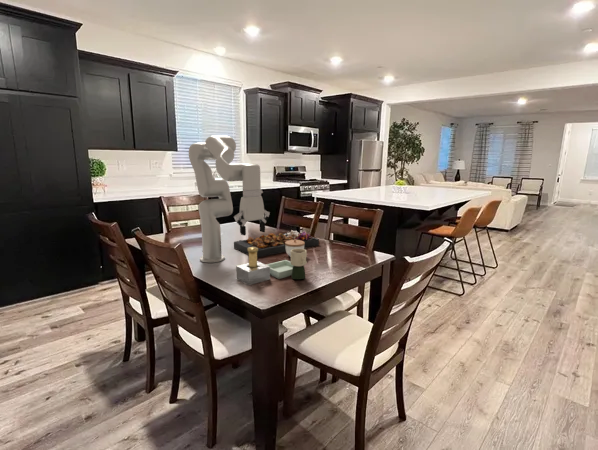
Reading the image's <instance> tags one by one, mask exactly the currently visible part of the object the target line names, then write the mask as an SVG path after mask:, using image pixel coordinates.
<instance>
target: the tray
mask: <svg viewBox="0 0 598 450" xmlns="http://www.w3.org/2000/svg"><path fill="white" fill-rule="evenodd" d="M265 265H268V266H270V276H271V277H274V278H277V279H278V280H280V279H283V278H288V277H290V276H291V277H292V269H293V265H291V260H288V259H283V260H280V261H276V262H270V263H267V264H265Z"/></svg>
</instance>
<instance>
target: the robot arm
mask: <svg viewBox="0 0 598 450" xmlns="http://www.w3.org/2000/svg"><path fill="white" fill-rule="evenodd" d="M236 148H237V143H236V141H235V139H234V137H231V136H228V135H211V136H208V137H207V138H206V139H205V142H193V143H192V144H191V145H189V148H188V159H189V162H190V165H191V167H192V169H193V171H194V172H193V173H194V176H195V181H196V182H195V183H196V188H197V191H198V194H199V196H200V197H202V198H211V199H204V200H202V201H201V202H199V204H198V214H199V218H200V224H201V242H202V243H201V244H202V247H201V248H202V250H201V251H202V256H200V257H199V260H200V262H202V263H208V264H210V263H211V264H212V263H220V262H222V261H224V260H225V257H226V256H225V255H223V254H222V232H221V231H222V230H221V224H220V222H219V221H218V220H217V218H223V217H229V216H231V215H232V214H233V212H234V207H233V200H232V196H231V195H232V194H231V189H230V186H229V182H241V183H242V196H241V198H240V202H239V212H238V213H237V214H235V215H234V216H233V218H234V220H235V222H236V224H237V225H238V226H239V233H240V236H241V235H242V236H246V234H247V229H246V228H247V227H246V226H245V225H246V224H247V222H252V221H253V222H254V221H259V231H260V233H265V232H266V223H267V221H268V219H269V217H270V215H271V214H270V213H271V212H270V211H267V210H266V209H265V205H264V200H263V196H262V194H263V193H264V191H263V190H262V189H261V188H262V186H261V166H260V165H259V164H256V163H244V162H243V163H239V162H238V163H232V162H233V160H234V158H235V151H236ZM206 161H215V169H216V172H217V173H218V175H219V176H220V177H214V175H213V170H212V168H211V166H209V164H208V163H207V162H206ZM214 197H215V198H214ZM216 197H218V198H216Z"/></svg>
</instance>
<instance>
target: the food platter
mask: <svg viewBox="0 0 598 450" xmlns="http://www.w3.org/2000/svg"><path fill="white" fill-rule="evenodd" d="M294 239H296V240H301V241H304V242H305V245H304V249H307V248H311V247H317V246H319V245H320V239H319V238H316V237H313V236H312V235H310V234H309V233H307V231H302V232H298V231H297V230H292V229H291V230H288V231H287V232H286V233H282V232H279V233H278V234H276V233H273V232H272V233H268V235H265V234H262V235H261V236H259V237H256V238H255V237H254V238H253V237H251V236H248V238H247V239H240V240H235V241H233V249H235V250H236V251H237V250H238V251H240V252H241V253H244V254H246V255H248V256H249V252H248V250H247V248H249V247H257V248H258V252H257V259H258V258H261V257H266V256H272V255H276V254H281V253H287V252H286V249H285V242H286V241H289V240H294Z"/></svg>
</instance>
